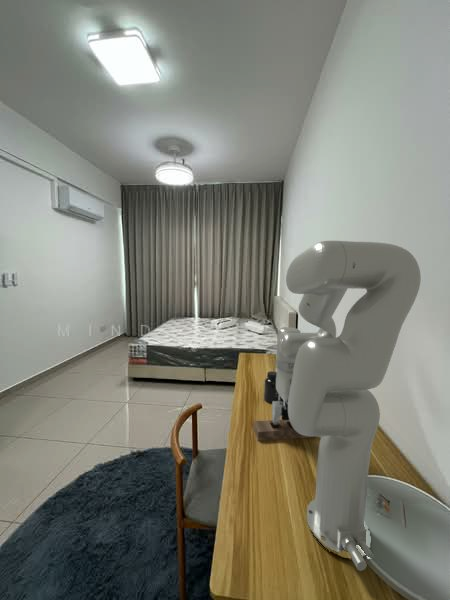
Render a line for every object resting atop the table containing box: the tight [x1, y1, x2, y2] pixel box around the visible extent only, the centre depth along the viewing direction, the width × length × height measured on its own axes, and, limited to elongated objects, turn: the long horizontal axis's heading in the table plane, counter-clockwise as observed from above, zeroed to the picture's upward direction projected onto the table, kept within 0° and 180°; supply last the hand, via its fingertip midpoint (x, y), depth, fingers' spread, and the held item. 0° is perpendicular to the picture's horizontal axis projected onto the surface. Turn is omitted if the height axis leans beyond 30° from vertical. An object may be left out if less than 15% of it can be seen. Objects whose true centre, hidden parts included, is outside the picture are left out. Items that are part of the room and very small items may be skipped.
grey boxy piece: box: [271, 401, 290, 425], centre depth 84 cm, size 8×3×7 cm, turn 97°
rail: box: [253, 419, 317, 441], centre depth 84 cm, size 20×6×3 cm, turn 97°
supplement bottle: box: [263, 371, 279, 404], centre depth 107 cm, size 7×7×12 cm
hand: (284, 415), depth 84 cm, fingers closed on grey boxy piece, 3 cm apart
